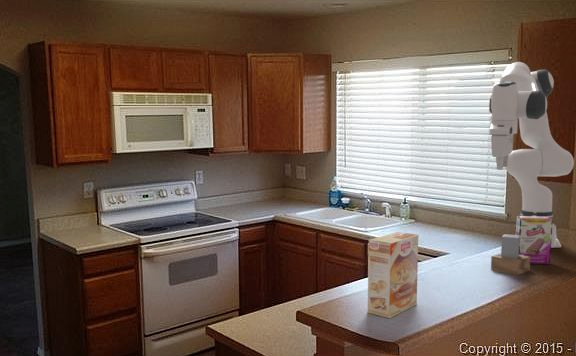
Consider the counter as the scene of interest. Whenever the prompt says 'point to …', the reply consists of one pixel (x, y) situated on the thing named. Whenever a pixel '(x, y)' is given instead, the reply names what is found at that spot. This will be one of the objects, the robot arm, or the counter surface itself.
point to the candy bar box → (535, 238)
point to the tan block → (510, 264)
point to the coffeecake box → (392, 274)
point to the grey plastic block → (510, 246)
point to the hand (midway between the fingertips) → (502, 168)
